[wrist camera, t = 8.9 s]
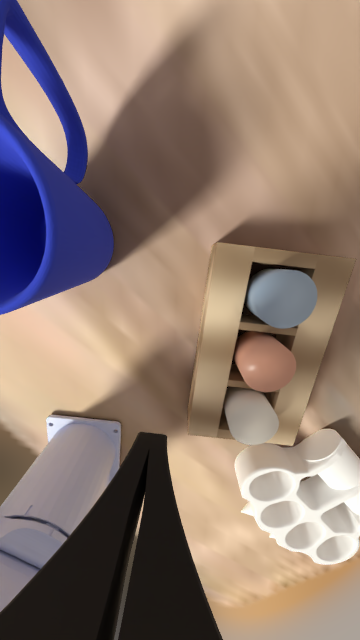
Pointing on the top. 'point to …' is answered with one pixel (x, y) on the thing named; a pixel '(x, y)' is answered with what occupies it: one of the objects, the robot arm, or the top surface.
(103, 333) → the top surface
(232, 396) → the pale grey rounded piece
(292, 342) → the wooden compartment tray
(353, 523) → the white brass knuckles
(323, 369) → the top surface
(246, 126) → the top surface
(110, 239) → the mug
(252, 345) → the pink egg
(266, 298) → the pale blue rounded lump
